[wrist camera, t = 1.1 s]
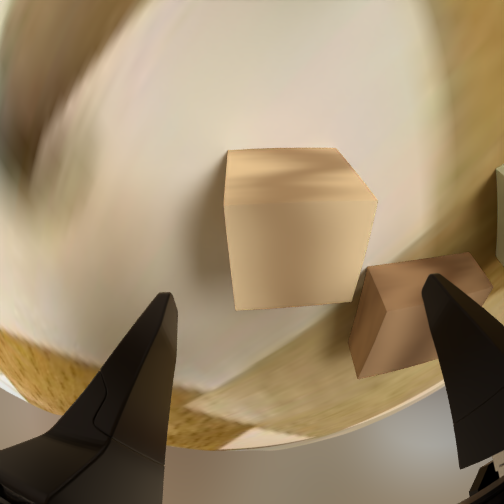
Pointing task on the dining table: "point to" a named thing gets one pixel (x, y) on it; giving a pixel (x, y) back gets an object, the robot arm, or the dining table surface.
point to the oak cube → (295, 226)
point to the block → (500, 214)
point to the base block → (405, 311)
